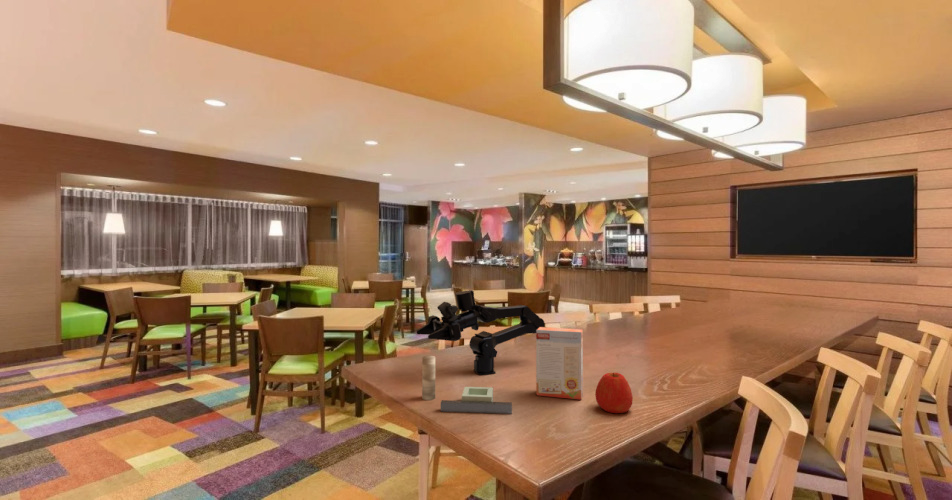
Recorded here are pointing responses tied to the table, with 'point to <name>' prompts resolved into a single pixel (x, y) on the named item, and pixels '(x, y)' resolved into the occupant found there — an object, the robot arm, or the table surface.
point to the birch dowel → (428, 377)
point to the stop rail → (476, 407)
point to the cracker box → (559, 362)
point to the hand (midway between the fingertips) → (422, 334)
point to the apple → (614, 393)
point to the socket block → (478, 394)
